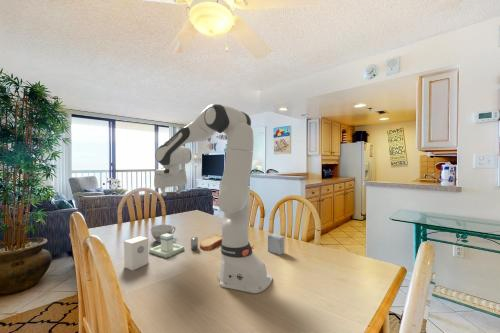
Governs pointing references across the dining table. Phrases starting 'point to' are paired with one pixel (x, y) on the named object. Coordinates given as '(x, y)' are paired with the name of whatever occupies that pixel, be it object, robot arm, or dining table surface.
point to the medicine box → (276, 244)
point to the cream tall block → (136, 252)
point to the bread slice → (211, 242)
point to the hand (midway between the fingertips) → (171, 194)
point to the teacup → (161, 231)
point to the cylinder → (194, 243)
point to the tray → (164, 254)
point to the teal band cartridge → (166, 242)
